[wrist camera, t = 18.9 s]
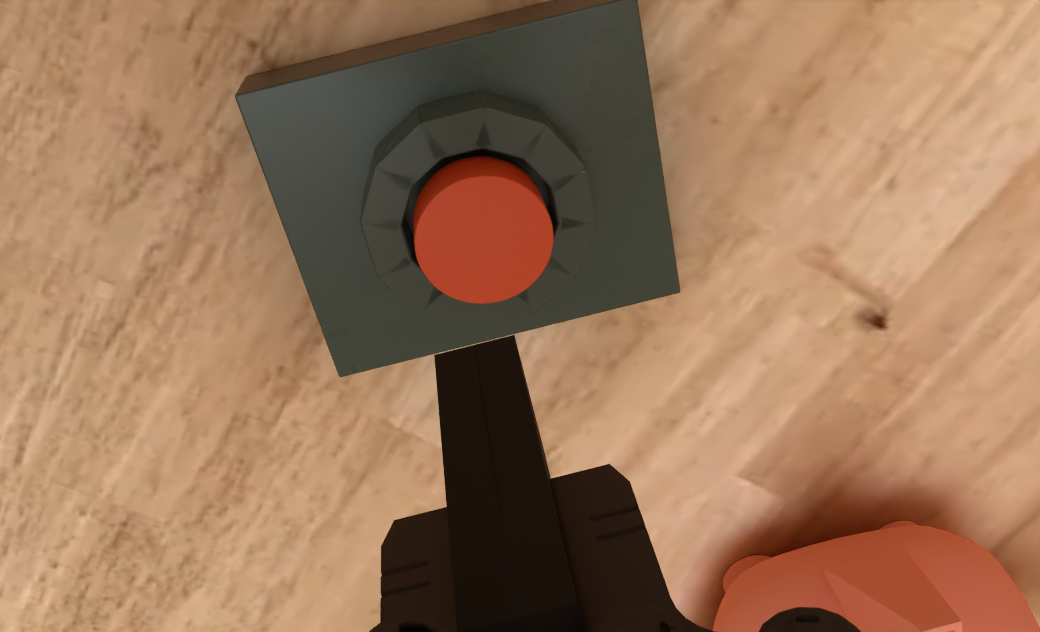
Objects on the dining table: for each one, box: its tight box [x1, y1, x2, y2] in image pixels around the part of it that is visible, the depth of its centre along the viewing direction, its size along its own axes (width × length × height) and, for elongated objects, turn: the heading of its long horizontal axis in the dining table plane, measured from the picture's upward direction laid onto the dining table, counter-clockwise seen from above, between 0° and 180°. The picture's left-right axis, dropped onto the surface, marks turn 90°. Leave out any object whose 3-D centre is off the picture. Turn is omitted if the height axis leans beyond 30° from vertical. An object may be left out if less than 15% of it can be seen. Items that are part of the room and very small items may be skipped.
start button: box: [413, 156, 553, 304], centre depth 28 cm, size 4×4×2 cm
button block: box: [235, 0, 680, 377], centre depth 30 cm, size 12×10×4 cm
